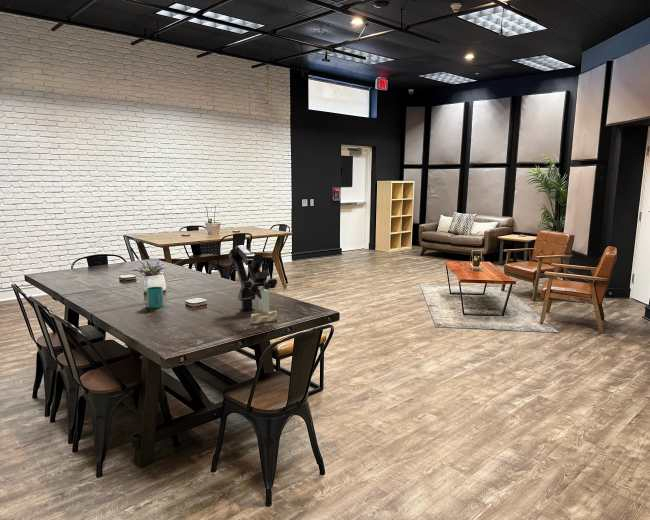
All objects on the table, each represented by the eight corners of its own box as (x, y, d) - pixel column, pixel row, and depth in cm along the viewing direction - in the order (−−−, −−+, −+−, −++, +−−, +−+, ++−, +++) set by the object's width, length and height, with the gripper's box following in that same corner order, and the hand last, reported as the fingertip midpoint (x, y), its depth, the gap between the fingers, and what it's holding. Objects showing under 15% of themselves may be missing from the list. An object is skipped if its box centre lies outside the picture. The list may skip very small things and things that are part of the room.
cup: (151, 310, 278) (150, 291, 276) (146, 306, 287) (144, 287, 286) (167, 308, 283) (166, 289, 281) (161, 303, 292) (160, 285, 291)
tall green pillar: (258, 308, 256) (258, 288, 254) (264, 308, 258) (263, 288, 256) (263, 312, 250) (263, 291, 248) (269, 311, 252) (268, 290, 250)
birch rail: (252, 323, 251) (252, 315, 250) (251, 322, 252) (251, 314, 252) (277, 319, 257) (277, 311, 257) (275, 319, 259) (275, 310, 258)
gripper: (242, 266, 250) (250, 291, 242) (275, 263, 259) (284, 287, 251) (238, 278, 258) (245, 303, 250) (270, 275, 267) (278, 299, 259)
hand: (264, 298), depth 253 cm, fingers closed on tall green pillar, 3 cm apart
